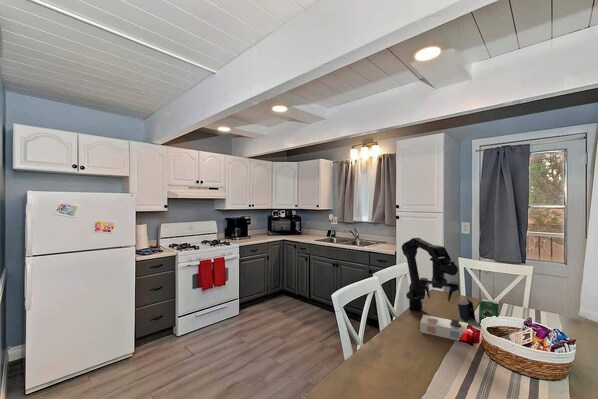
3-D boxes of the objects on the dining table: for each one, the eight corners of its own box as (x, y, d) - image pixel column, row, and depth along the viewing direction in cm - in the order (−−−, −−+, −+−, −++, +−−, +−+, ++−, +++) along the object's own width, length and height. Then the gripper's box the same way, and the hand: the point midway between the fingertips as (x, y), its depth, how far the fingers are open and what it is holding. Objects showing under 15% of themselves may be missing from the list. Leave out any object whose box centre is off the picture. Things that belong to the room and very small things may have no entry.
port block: (420, 332, 138) (420, 321, 138) (423, 324, 147) (423, 314, 147) (467, 342, 128) (467, 331, 128) (467, 333, 137) (467, 322, 137)
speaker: (475, 316, 154) (472, 298, 154) (475, 321, 149) (473, 302, 149) (459, 315, 158) (457, 297, 158) (459, 320, 153) (457, 301, 153)
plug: (451, 335, 135) (451, 319, 134) (452, 333, 137) (452, 317, 137) (458, 337, 133) (458, 320, 133) (459, 334, 135) (459, 318, 135)
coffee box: (496, 326, 143) (496, 301, 143) (498, 329, 140) (498, 303, 140) (478, 324, 146) (478, 299, 145) (480, 327, 143) (480, 301, 143)
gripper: (417, 271, 146) (417, 301, 146) (458, 276, 136) (458, 308, 136) (420, 267, 155) (420, 295, 155) (459, 271, 145) (459, 301, 145)
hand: (438, 299), depth 148 cm, fingers open, 9 cm apart
